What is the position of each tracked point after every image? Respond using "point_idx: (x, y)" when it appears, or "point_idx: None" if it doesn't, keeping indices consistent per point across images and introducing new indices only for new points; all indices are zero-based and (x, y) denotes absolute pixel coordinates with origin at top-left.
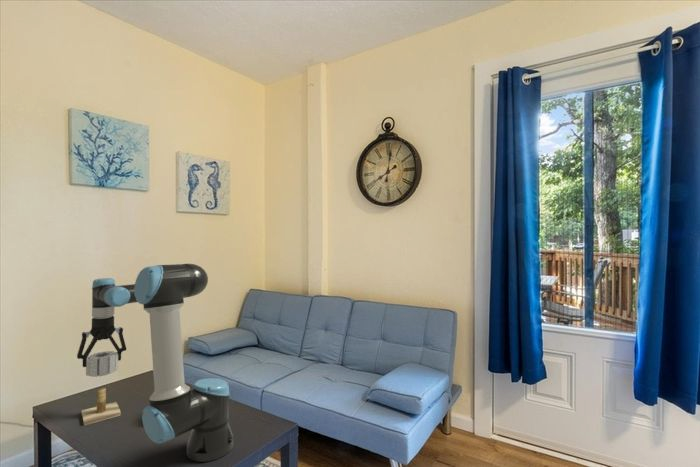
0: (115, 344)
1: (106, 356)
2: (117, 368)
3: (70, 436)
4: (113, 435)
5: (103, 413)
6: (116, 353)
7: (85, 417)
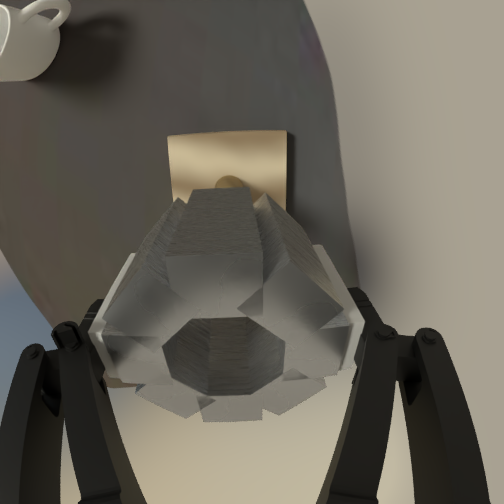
0: (79, 424)
1: (184, 298)
2: (131, 256)
3: (324, 81)
4: (207, 4)
5: (223, 165)
6: (104, 348)
7: (279, 171)
